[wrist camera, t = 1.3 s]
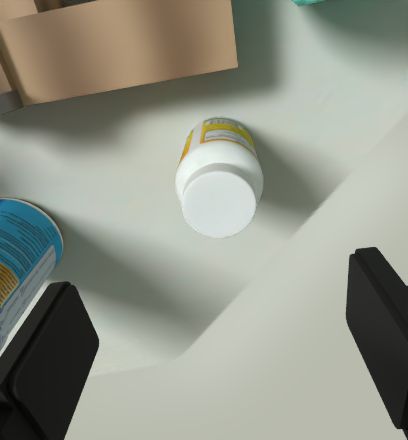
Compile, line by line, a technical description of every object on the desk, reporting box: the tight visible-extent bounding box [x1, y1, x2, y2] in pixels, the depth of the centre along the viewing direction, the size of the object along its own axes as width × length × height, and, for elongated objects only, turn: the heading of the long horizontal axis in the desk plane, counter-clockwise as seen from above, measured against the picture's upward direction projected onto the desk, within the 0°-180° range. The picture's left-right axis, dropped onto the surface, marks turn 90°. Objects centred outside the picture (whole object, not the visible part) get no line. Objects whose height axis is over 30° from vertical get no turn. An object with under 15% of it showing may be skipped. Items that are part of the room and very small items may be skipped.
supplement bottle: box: [175, 117, 263, 238], centre depth 21 cm, size 5×5×10 cm
